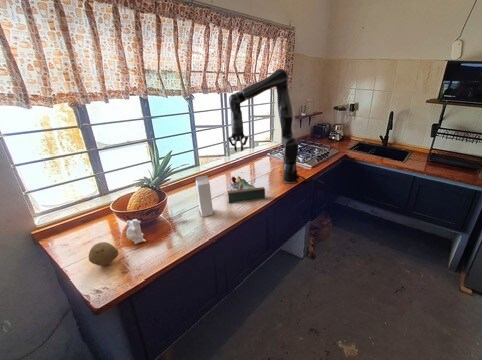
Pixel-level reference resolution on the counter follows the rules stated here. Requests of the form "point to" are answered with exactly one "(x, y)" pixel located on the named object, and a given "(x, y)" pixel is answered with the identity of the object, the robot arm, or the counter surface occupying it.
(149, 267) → the counter surface
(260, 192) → the shoe rail
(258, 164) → the counter surface
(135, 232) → the koala figurine
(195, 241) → the counter surface
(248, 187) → the sneaker
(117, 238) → the counter surface
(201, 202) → the milk
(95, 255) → the brown rounded lump
